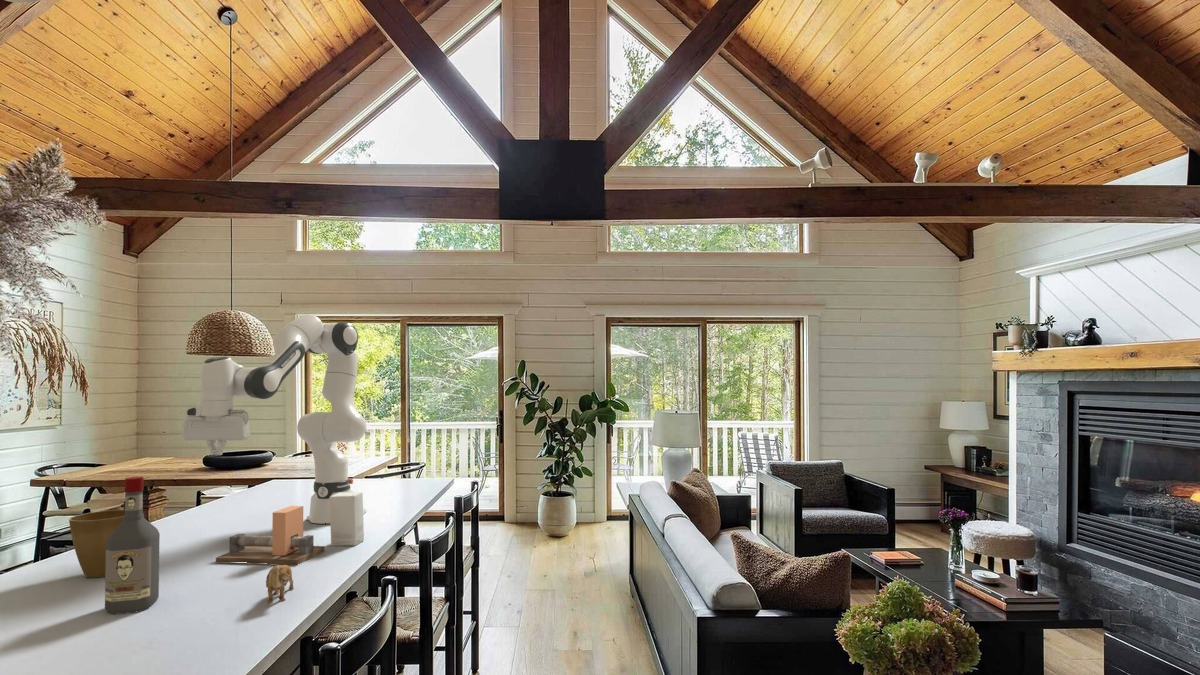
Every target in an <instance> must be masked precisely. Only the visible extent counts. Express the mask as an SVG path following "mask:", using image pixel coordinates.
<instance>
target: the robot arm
mask: <svg viewBox="0 0 1200 675" xmlns="http://www.w3.org/2000/svg"><path fill="white" fill-rule="evenodd" d="M358 343H359V333H358V330H357V328H356V326H355V325H353V324H352V323H350V322H345V321H340V322H328V323H323V321H322V320H321V319H320V318H319V317H317V315H314V314H310V313H308V314H304V315H301V316H299V317H296V318H295V319H293V320H291V321H290V322H288V323H287V324H286V325H284V326H283V327H281V329H280V330H278V331H277V332H276V334H275V335H274V336H273V338H272V346H273V348H274V350H275V352H276V355H278V356H276V357H275V358H274V359H273V361H272V362H271V363H269V364H267V365H264V366H252V367H250V366H248V367H245V366H244V365H241V364H239V363H236V362H235V361H234V360H233V359H232V358H231V357H230V356H215V357H210V358H207V359H206V360H204V362H203V363H202V365H201V371H200V389H201V396H200V399H199V400H200V403H199V404H198V405H197V404H196V405H194V406H192V407H189V408H185V409H184V411H183V412H184V416H185V417H184V420H183V424H182V437H183V439H184V440H185V441H206V446H207V447H208V449H209V452H210V453H209V454H210V456H222V455H223V453H224V449H225V446H226V445H227V442H228V441H246V440H248V439H249V438H250V436H251V429H250V428H251V426H250V420H249V418H250V416H249V413H248V412H247V411H246V410H244V409H234V398H252V399H259V400H266V399H267V400H268V399H271V397H273V396H274V395H276V394H277V392H278V391H279V388H280V386H281V385H282V383H283V382H284V380H285V379H286V377H287V376H288V375H289V374H290V373H291V372H292V371H293V370H294V369H295V368H296V367H297V365H298V364H299V363H300V362H301V361H302V359H303V358H304V357H305V354H306V352H308V353H310V354H313V355H320V354H326V355H327V359H328V362H327V365H326V368H325V374H324V380H323V385H322V391H321V394H322V396H323V398H324V399H325V400H326V401H328V402H329V403H330V406H331V411H315V412H310V413H306V414H303V415H302V416H301V417H300V419H299V420H298V422H297V426H296V430H297V433H298V437H299V438H301V439H302V440H303V441H304V442H305V443H306V444H307V446H308V447H309V449H310V451H311V453H312V456H313V459H314V460H313V461H314V482H313V487H312V488H313V492H314V493H313V494H312V496H311V498H310V504H309V505H310V506H309V515H307V516H306V520H308V521H309V522H310V523H313V524H319V525H320V524H325V523H326V524H330V497H331V496H333V495H335V494H337V493H345V492H354V491H353V490H352V489H351V488H352V487H351V485H353V484H354V479H353V478H349V476H348V475H349V471H348V469H349V461H348V460H349V459H348V457H347V456H346V455H345V454H344V453H343V452H341V451H340V450H339V449H338V447H337V445H336V443H344V444H345V443H346V444H347V443H353V442H357V441H360V440H361V439H362V438H363V437H364V435H365V433H366V430H367V423H366V422H367V421H366V420H365V418H364V416H363V415H361V413H360V412H359V411H358V409H357V406H356V404H355V403H356V402H355V391H356V390H355V389H356V383H357V377H358V366H359V364H358V363H359V362H358V360H359V359H358V353H357V352H356V349H357V348H358ZM216 441H217V442H216ZM215 444H218V446H217V447H216V445H215ZM366 512H367V508H364V507H363V515H364V514H365V513H366Z"/></svg>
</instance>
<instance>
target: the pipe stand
mask: <svg viewBox="0 0 1200 675" xmlns="http://www.w3.org/2000/svg"><path fill="white" fill-rule="evenodd" d="M314 541H315V540H314V535H313V534H311V535H310V534H307V535H305V536H303V537H291V547H298V548H299V549H297V550H295V551H293V552H291V553H289V554H287V555H272V535H246V534H245V533H236V534H234V535H232V536H229V542H228V544H229V545H228V548H229V549H228V550H229V551H228V552H226V553H222V554H221V555H219V556H217V557H215V563H216V562H247V563H267V564H266V565H271V564H279V566H283V565H287V566H299V565H301V564H302V562H303V563H305V562H306V561H309V560H310V559H312V558H314V557H316V556H318V555H320V554H321V553H324V552H325V545H314ZM304 561H305V562H304ZM300 563H301V564H300ZM298 564H299V565H298Z"/></svg>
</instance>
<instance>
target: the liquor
mask: <svg viewBox="0 0 1200 675" xmlns="http://www.w3.org/2000/svg"><path fill="white" fill-rule="evenodd" d="M144 479H145V478H144V476H131V477H127V478H125V479H124V493H125V497H124V498H125V499H124V500H125V502H124V503H125V504H124V510H125V515H124V517H123V522H122V523H121V524H120V525H119V526H118V527H117V528H116V529H115V530H114V531H113V532H112V534H111V535H110V536H109V537H108V539H107V541H106V568H105V576H104V580H105V581H104V583H105V585H104V609H105V611H106V613H108V614H112V615H117V613H121V614H127V613H126V612H131V613H137V612H136V611H138V612H141V611H140V610H142V611H145V610H148V609H150V608H151V607H152V606H153V605H154V604H155V603H157V601H158V599H159V596H160V594H159V593H160V589H159V588H160V531H159V530H158V529H157V527H155V526H154V524H152V523H151V522H150V521H148V520H147V519H146V518H145V514H144V510H143V509H144V508H143V507H144V506H143V505H144V503H143V500H144V497H143V494H144V493H143V491H144V483H145V482H144V481H145V480H144ZM149 607H150V608H149ZM144 609H145V610H144Z"/></svg>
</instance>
